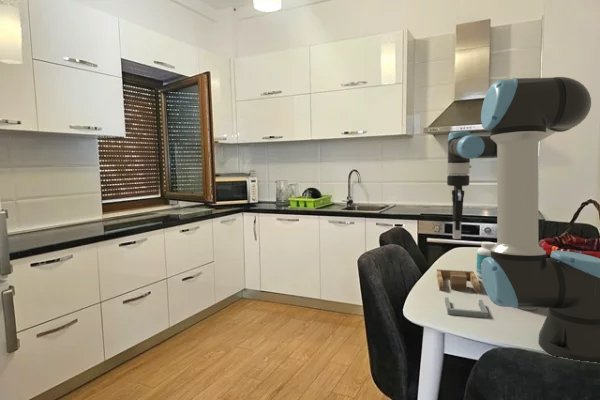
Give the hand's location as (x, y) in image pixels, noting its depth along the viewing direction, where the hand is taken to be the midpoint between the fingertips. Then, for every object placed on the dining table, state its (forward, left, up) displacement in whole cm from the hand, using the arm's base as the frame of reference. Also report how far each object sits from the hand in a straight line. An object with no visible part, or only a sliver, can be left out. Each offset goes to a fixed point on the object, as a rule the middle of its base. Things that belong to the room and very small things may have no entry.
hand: (456, 238), depth 144 cm
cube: (-8, 0, -17) cm, 18 cm away
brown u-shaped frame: (-4, 0, -16) cm, 17 cm away
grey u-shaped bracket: (-28, 0, -16) cm, 32 cm away
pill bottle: (+8, -12, -17) cm, 22 cm away
